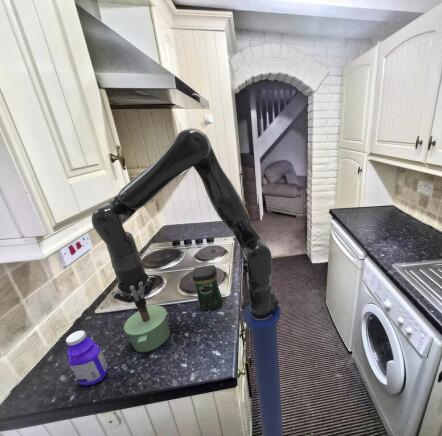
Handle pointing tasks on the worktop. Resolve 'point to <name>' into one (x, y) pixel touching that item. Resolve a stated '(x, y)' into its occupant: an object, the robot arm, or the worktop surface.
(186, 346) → the worktop surface
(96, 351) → the bottle
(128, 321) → the lid
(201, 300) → the coffee jar
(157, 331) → the pot
